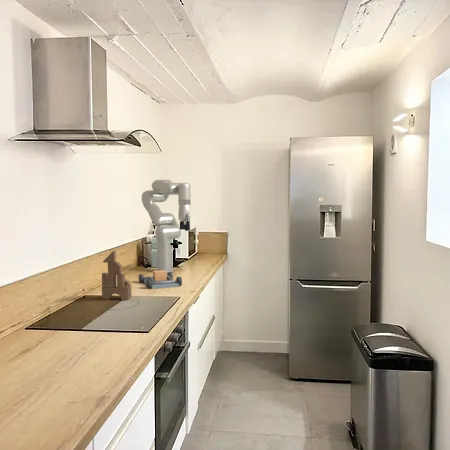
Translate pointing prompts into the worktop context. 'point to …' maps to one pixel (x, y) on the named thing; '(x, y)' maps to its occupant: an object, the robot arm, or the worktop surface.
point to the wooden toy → (110, 280)
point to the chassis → (160, 284)
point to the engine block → (160, 275)
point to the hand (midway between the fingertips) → (184, 230)
